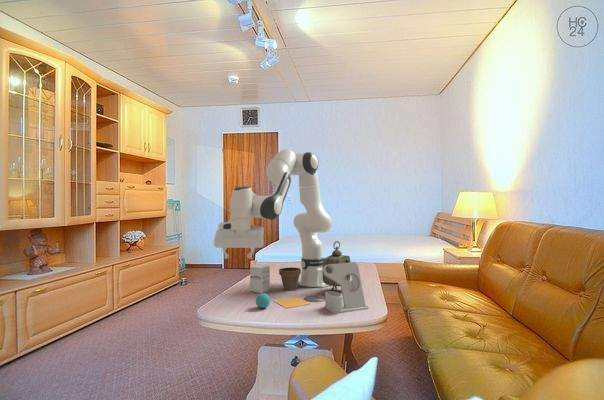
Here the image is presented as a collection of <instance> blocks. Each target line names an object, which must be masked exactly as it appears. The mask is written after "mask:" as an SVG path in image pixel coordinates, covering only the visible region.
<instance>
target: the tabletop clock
mask: <svg viewBox="0 0 604 400" xmlns="http://www.w3.org/2000/svg"><path fill="white" fill-rule="evenodd" d="M336 243H338V244H339V245H338V246H336V247H335V245H336ZM340 247H341V243H340V241H338V240H336V241H334V243H333V249H334V250H333V251H332V253H331V254H330V255H328V256H326V257H323V258H324V259H323V267H324V266H325V265H328V264H338V263H351V258H350V256H349V255H343V253H342V251H341V250H340ZM325 270H326V272H327V273H330V272H331V269H330V267H326V269H325ZM322 273H323V268H322ZM346 279H347V280H348V281H349V282H350V281H351V275H347V277H346ZM323 282H324V283H325V284H326V285H330V286H332V287H331V289H330V291H334V292H336V293H338V294H339V291H338V287H340V288H341V286H340V285H339V284H338V283H336V282H334V281H333V280H331V279H330V278H328V277H326V276H325V275H324V273H323Z"/></svg>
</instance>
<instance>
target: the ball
mask: <svg viewBox="0 0 604 400" xmlns="http://www.w3.org/2000/svg"><path fill="white" fill-rule="evenodd" d="M270 303H271V298H270V296H269V295H268V294H267V293H266V292H264V293H259V294H258V295H257V296H256V297H255V304H256V306H257V307H258V308H260V309H265V308H267V307H268V306H269V305H270Z"/></svg>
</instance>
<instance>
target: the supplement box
mask: <svg viewBox="0 0 604 400" xmlns="http://www.w3.org/2000/svg"><path fill="white" fill-rule="evenodd" d="M270 267H271V266H270V265H267V264H254V265H252V266H250V269H249V270H250V271H249V292H250V291H253V292H252V293H259V294H261V293H263V292H264V293H266V292H269V291H270V289H271V288H270V286H271V285H270V281H271V280H270V279H271V278H270V273H271V272H270V270H271V268H270ZM268 290H269V291H268Z"/></svg>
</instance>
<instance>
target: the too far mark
mask: <svg viewBox="0 0 604 400" xmlns="http://www.w3.org/2000/svg"><path fill="white" fill-rule="evenodd" d="M303 300H305V301H307V302H310V303H311V302H312V303H313V302H314V303H316V302H323V301H324V302H325V296H323V295H320V294H319V295H317V294H314V295H313V294H311V295H306V296H304V297H303Z"/></svg>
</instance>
